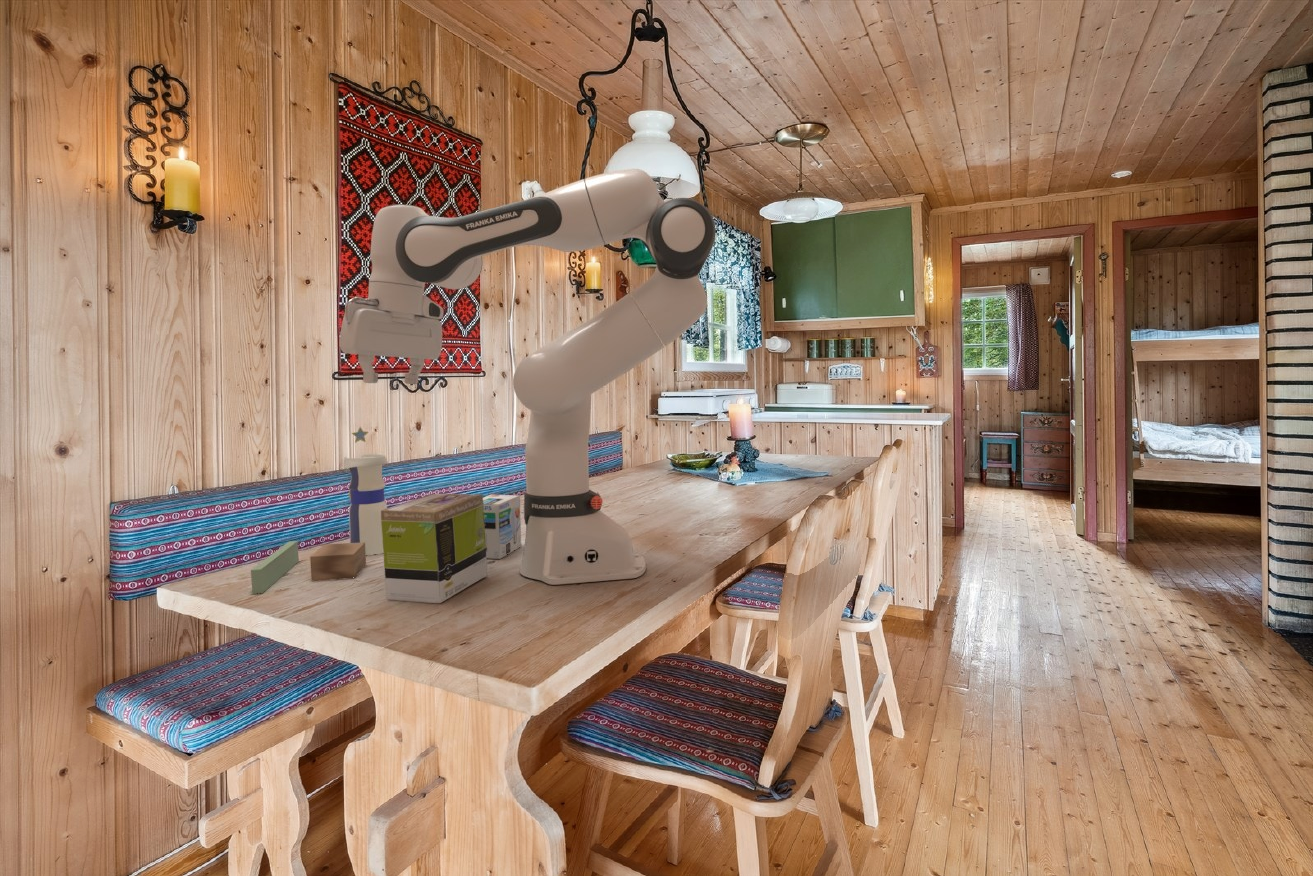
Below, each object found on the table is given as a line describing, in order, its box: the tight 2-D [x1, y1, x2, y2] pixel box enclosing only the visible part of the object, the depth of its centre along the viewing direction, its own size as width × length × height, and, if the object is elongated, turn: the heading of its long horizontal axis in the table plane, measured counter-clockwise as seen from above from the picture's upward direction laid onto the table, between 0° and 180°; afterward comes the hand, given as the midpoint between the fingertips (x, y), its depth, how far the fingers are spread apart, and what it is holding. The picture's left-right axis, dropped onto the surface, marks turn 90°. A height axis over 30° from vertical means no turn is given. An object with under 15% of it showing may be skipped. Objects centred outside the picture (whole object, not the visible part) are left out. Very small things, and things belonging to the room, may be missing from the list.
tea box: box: [381, 493, 488, 604], centre depth 112 cm, size 15×10×15 cm, turn 165°
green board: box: [250, 540, 300, 595], centre depth 121 cm, size 2×20×4 cm, turn 12°
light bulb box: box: [483, 494, 522, 560], centre depth 136 cm, size 11×7×11 cm, turn 168°
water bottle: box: [343, 426, 389, 556], centre depth 137 cm, size 8×9×25 cm
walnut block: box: [309, 542, 367, 581], centre depth 123 cm, size 7×9×4 cm
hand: (391, 383), depth 119 cm, fingers open, 8 cm apart
